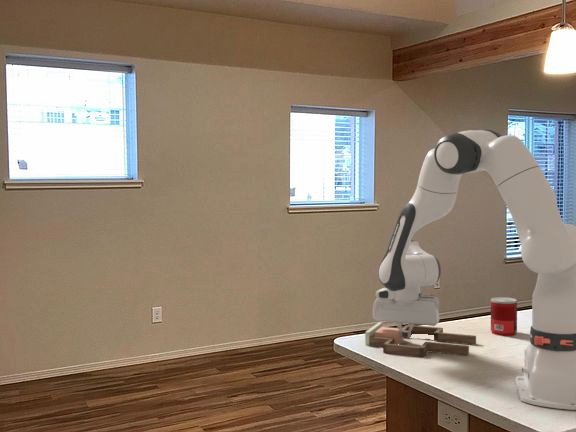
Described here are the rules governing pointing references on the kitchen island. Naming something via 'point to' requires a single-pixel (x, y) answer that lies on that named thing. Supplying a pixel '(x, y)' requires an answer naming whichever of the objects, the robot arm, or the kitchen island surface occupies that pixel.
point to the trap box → (427, 346)
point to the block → (389, 334)
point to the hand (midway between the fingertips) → (405, 337)
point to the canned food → (504, 316)
